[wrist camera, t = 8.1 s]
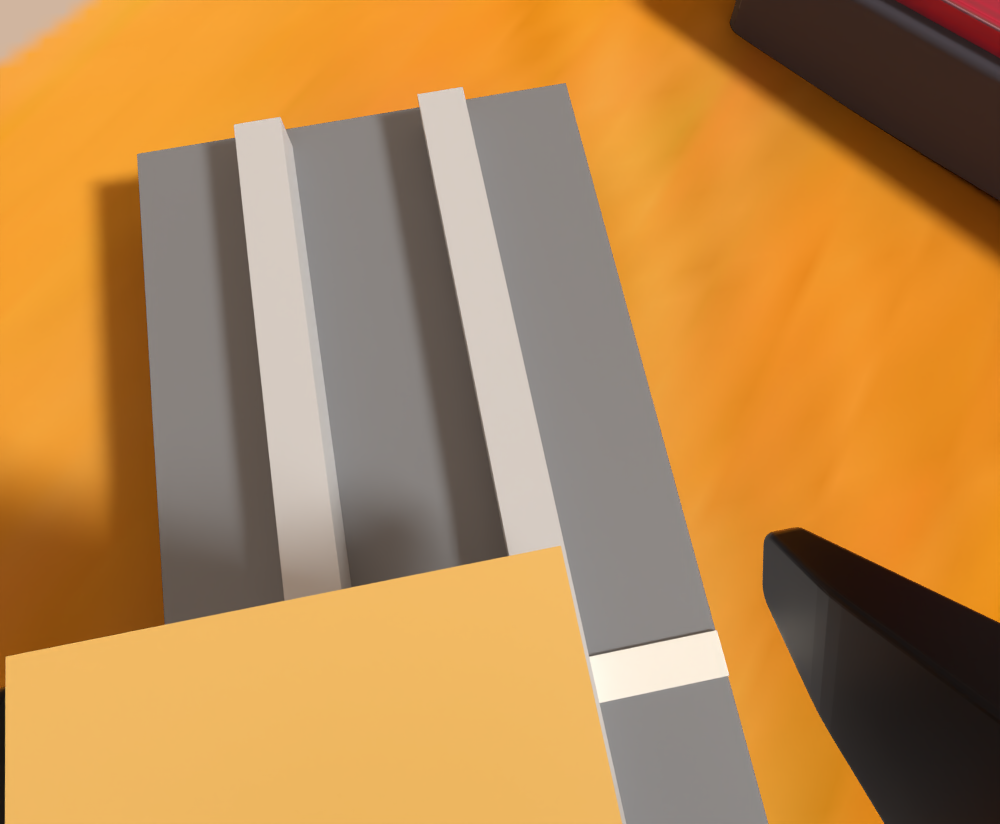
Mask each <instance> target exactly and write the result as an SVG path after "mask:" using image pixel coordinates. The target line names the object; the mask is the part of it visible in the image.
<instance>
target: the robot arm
mask: <svg viewBox="0 0 1000 824" xmlns="http://www.w3.org/2000/svg"><path fill="white" fill-rule="evenodd" d="M763 592H764V596H765V599H766V603H767V605H768V607H769V609H770V611H771V614H772V616H773V618H774V620H775V622H776V624H777V626H778V629H779V631H780V633H781V635H782V637H783V639H784V642H785V644H786V646H787V648H788V650H789V652H790V654H791V657H792V659H793V661H794V663H795V665H796V667H797V669H798V672H799V674H800V676H801V678H802V680H803V682H804V684H805V687H806V689H807V691H808V693H809V695H810V697H811V699H812V701H813V703H814V705H815V707H816V709H817V711H818V713H819V715H820V717H821V719H822V721H823V722H824V724H825V726H826V728H827V729H828V731H829V733H830V734H831V736H832V738H833V739H834V741H835V743H836V744H837V746H838V748H839V749H840V751H841V753H842V754H843V756H844V758H845V759H846V761H847V763H848V764H849V766H850V767H851V769H852V771H853V772H854V774H855V776H856V777H857V779H858V781H859V782H860V784H861V786H862V787H863V789H864V791H865V792H866V794H867V796H868V797H869V799H870V801H871V802H872V804H873V805H874V807H875V809H876V810H877V812H878V814H879V815H880V817H881V819H882V820H883V822H884V824H1000V623H999V622H997V621H995V620H993V619H990V618H988V617H986V616H984V615H982V614H980V613H978V612H976V611H974V610H972V609H970V608H968V607H965V606H963V605H961V604H959V603H957V602H955V601H953V600H951V599H949V598H947V597H945V596H943V595H940V594H938V593H936V592H934V591H932V590H930V589H928V588H926V587H924V586H922V585H920V584H918V583H915V582H913V581H911V580H909V579H907V578H905V577H903V576H901V575H899V574H897V573H895V572H893V571H890V570H888V569H886V568H884V567H882V566H880V565H878V564H876V563H874V562H872V561H870V560H868V559H865V558H863V557H861V556H859V555H857V554H855V553H853V552H851V551H849V550H847V549H845V548H843V547H840V546H838V545H836V544H834V543H832V542H830V541H828V540H826V539H824V538H822V537H820V536H818V535H815V534H813V533H811V532H809V531H807V530H805V529H802V528H798V527H796V528H789V529H784V530H779V531H774V532H771V533H769V534H768V535H767V536H766V537H765V540H764V552H763ZM0 824H5V687H3V688H0Z"/></svg>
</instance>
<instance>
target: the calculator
mask: <svg viewBox="0 0 1000 824" xmlns="http://www.w3.org/2000/svg"><path fill="white" fill-rule="evenodd" d="M730 26H731V28H732V30H733V31H734V32H735V33H736V34H737V35H739V36H740V37H742V38H743V39H745V40H746V41H748V42H749V43H751V44H752V45H754V46H755V47H757V48H758V49H760V50H761V51H763V52H764V53H766V54H767V55H769V56H770V57H772V58H773V59H775V60H776V61H778V62H779V63H781V64H782V65H784V66H785V67H787V68H788V69H790V70H791V71H793V72H794V73H796V74H797V75H799V76H800V77H802V78H803V79H805V80H806V81H808V82H809V83H811V84H813V85H814V86H816V87H817V88H819V89H820V90H822V91H823V92H825V93H826V94H828V95H829V96H831V97H832V98H834V99H835V100H837V101H838V102H840V103H841V104H843V105H844V106H846V107H847V108H849V109H851V110H852V111H854V112H855V113H857V114H858V115H860V116H861V117H863V118H865V119H866V120H868V121H869V122H871V123H873V124H874V125H876V126H877V127H879V128H880V129H882V130H884V131H885V132H887V133H889V134H890V135H892V136H893V137H895V138H897V139H898V140H900V141H902V142H903V143H905V144H907V145H908V146H910V147H912V148H913V149H915V150H917V151H918V152H920V153H921V154H923V155H925V156H926V157H928V158H930V159H931V160H933V161H935V162H936V163H938V164H940V165H941V166H943V167H945V168H946V169H948V170H950V171H951V172H953V173H954V174H956V175H958V176H959V177H961V178H963V179H964V180H966V181H968V182H969V183H971V184H973V185H974V186H976V187H978V188H979V189H981V190H983V191H984V192H986V193H987V194H989V195H991V196H992V197H994V198H996V199H997V200H999V201H1000V0H736V3H735V6H734V10H733V13H732V16H731V20H730Z"/></svg>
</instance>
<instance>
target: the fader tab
mask: <svg viewBox="0 0 1000 824" xmlns="http://www.w3.org/2000/svg"><path fill="white" fill-rule="evenodd" d="M5 824H622V820H621V816H620V811H619V807H618V802H617V798H616V793H615V789H614V784H613V780H612V775H611V771H610V766H609V761H608V757H607V752H606V748H605V743H604V739H603V734H602V730H601V725H600V721H599V716H598V712H597V707H596V703H595V698H594V693H593V689H592V684H591V680H590V675H589V671H588V666H587V662H586V657H585V653H584V648H583V644H582V639H581V635H580V630H579V625H578V621H577V616H576V612H575V607H574V603H573V598H572V594H571V589H570V585H569V580H568V576H567V571H566V567H565V562H564V557H563V553H562V548H561V546H556V547H551V548H546V549H541V550H536V551H531V552H526V553H521V554H516V555H511V556H506V557H501V558H496V559H491V560H486V561H481V562H476V563H471V564H466V565H461V566H456V567H451V568H446V569H441V570H436V571H431V572H426V573H421V574H416V575H411V576H406V577H401V578H396V579H391V580H386V581H381V582H376V583H371V584H366V585H361V586H356V587H351V588H346V589H341V590H336V591H331V592H326V593H321V594H316V595H311V596H306V597H301V598H296V599H291V600H286V601H281V602H276V603H271V604H266V605H261V606H256V607H251V608H246V609H241V610H236V611H231V612H226V613H221V614H216V615H211V616H206V617H201V618H196V619H191V620H186V621H181V622H176V623H171V624H166V625H161V626H156V627H151V628H146V629H141V630H136V631H131V632H126V633H121V634H116V635H111V636H106V637H101V638H96V639H91V640H86V641H81V642H76V643H71V644H66V645H61V646H56V647H51V648H46V649H41V650H36V651H31V652H26V653H21V654H16V655H11V656H6V679H5Z"/></svg>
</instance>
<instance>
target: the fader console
mask: <svg viewBox="0 0 1000 824" xmlns="http://www.w3.org/2000/svg"><path fill="white" fill-rule="evenodd" d="M418 101H419V108H413V109H407V110H401V111H395V112H388V113H382V114H376V115H370V116H364V117H358V118H352V119H346V120H340V121H334V122H328V123H322V124H316V125H310V126H304V127H298V128H292V129H286V130H285V127H284V125H283V122H282V120H281V118H280V117H277V118H271V119H265V120H259V121H253V122H247V123H241V124H235V125H234V131H235V138H231V139H225V140H219V141H213V142H207V143H201V144H195V145H189V146H183V147H177V148H171V149H165V150H159V151H153V152H147V153H141V154H137V159H138V176H139V193H140V210H141V227H142V244H143V261H144V279H145V296H146V313H147V330H148V347H149V364H150V381H151V398H152V415H153V432H154V449H155V466H156V484H157V501H158V518H159V535H160V552H161V569H162V586H163V603H164V620H165V625H166V624H171V623H176V622H181V621H186V620H191V619H196V618H201V617H206V616H211V615H216V614H221V613H226V612H231V611H236V610H241V609H246V608H251V607H256V606H261V605H266V604H271V603H276V602H281V601H286V600H291V599H296V598H301V597H306V596H311V595H316V594H321V593H326V592H331V591H336V590H341V589H346V588H351V587H356V586H361V585H366V584H371V583H376V582H381V581H386V580H391V579H396V578H401V577H406V576H411V575H416V574H421V573H426V572H431V571H436V570H441V569H446V568H451V567H456V566H461V565H466V564H471V563H476V562H481V561H486V560H491V559H496V558H501V557H506V556H511V555H516V554H521V553H526V552H531V551H536V550H541V549H546V548H551V547H556V546H561V548H562V553H563V557H564V562H565V567H566V571H567V576H568V580H569V585H570V589H571V594H572V598H573V603H574V607H575V612H576V616H577V621H578V625H579V630H580V635H581V639H582V644H583V648H584V653H585V657H586V662H587V666H588V671H589V675H590V680H591V684H592V689H593V693H594V698H595V703H596V707H597V712H598V716H599V721H600V725H601V730H602V734H603V739H604V743H605V748H606V752H607V757H608V761H609V766H610V771H611V775H612V780H613V784H614V789H615V793H616V798H617V802H618V807H619V811H620V816H621V820H622V824H768V821H767V817H766V814H765V810H764V806H763V803H762V799H761V795H760V792H759V788H758V784H757V781H756V777H755V773H754V770H753V766H752V762H751V759H750V755H749V751H748V748H747V744H746V740H745V737H744V733H743V729H742V726H741V722H740V719H739V715H738V711H737V708H736V704H735V700H734V697H733V693H732V689H731V686H730V682H729V678H728V676H729V673H728V669H727V665H726V662H725V658H724V655H723V651H722V647H721V644H720V640H719V636H718V633H717V630H715V627H714V624H713V620H712V616H711V613H710V609H709V605H708V602H707V598H706V594H705V591H704V587H703V583H702V580H701V576H700V572H699V569H698V565H697V561H696V558H695V554H694V550H693V547H692V543H691V539H690V536H689V532H688V529H687V525H686V521H685V518H684V514H683V510H682V507H681V503H680V499H679V496H678V492H677V488H676V485H675V481H674V477H673V474H672V470H671V466H670V463H669V459H668V455H667V452H666V448H665V444H664V441H663V437H662V434H661V430H660V426H659V423H658V419H657V415H656V412H655V408H654V404H653V401H652V397H651V393H650V390H649V386H648V382H647V379H646V375H645V371H644V368H643V364H642V360H641V357H640V353H639V349H638V346H637V342H636V339H635V335H634V331H633V328H632V324H631V320H630V317H629V313H628V309H627V306H626V302H625V298H624V295H623V291H622V287H621V284H620V280H619V276H618V273H617V269H616V265H615V262H614V258H613V254H612V251H611V247H610V244H609V240H608V236H607V233H606V229H605V225H604V222H603V218H602V214H601V211H600V207H599V203H598V200H597V196H596V192H595V189H594V185H593V181H592V178H591V174H590V170H589V167H588V163H587V160H586V156H585V152H584V149H583V145H582V141H581V138H580V134H579V130H578V127H577V123H576V119H575V116H574V112H573V108H572V105H571V101H570V97H569V94H568V90H567V86H566V83H564V84H558V85H552V86H546V87H540V88H533V89H527V90H521V91H515V92H509V93H503V94H497V95H491V96H485V97H479V98H473V99H467V100H465V95H464V91H463V87H460V88H453V89H447V90H441V91H435V92H429V93H423V94H418Z"/></svg>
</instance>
